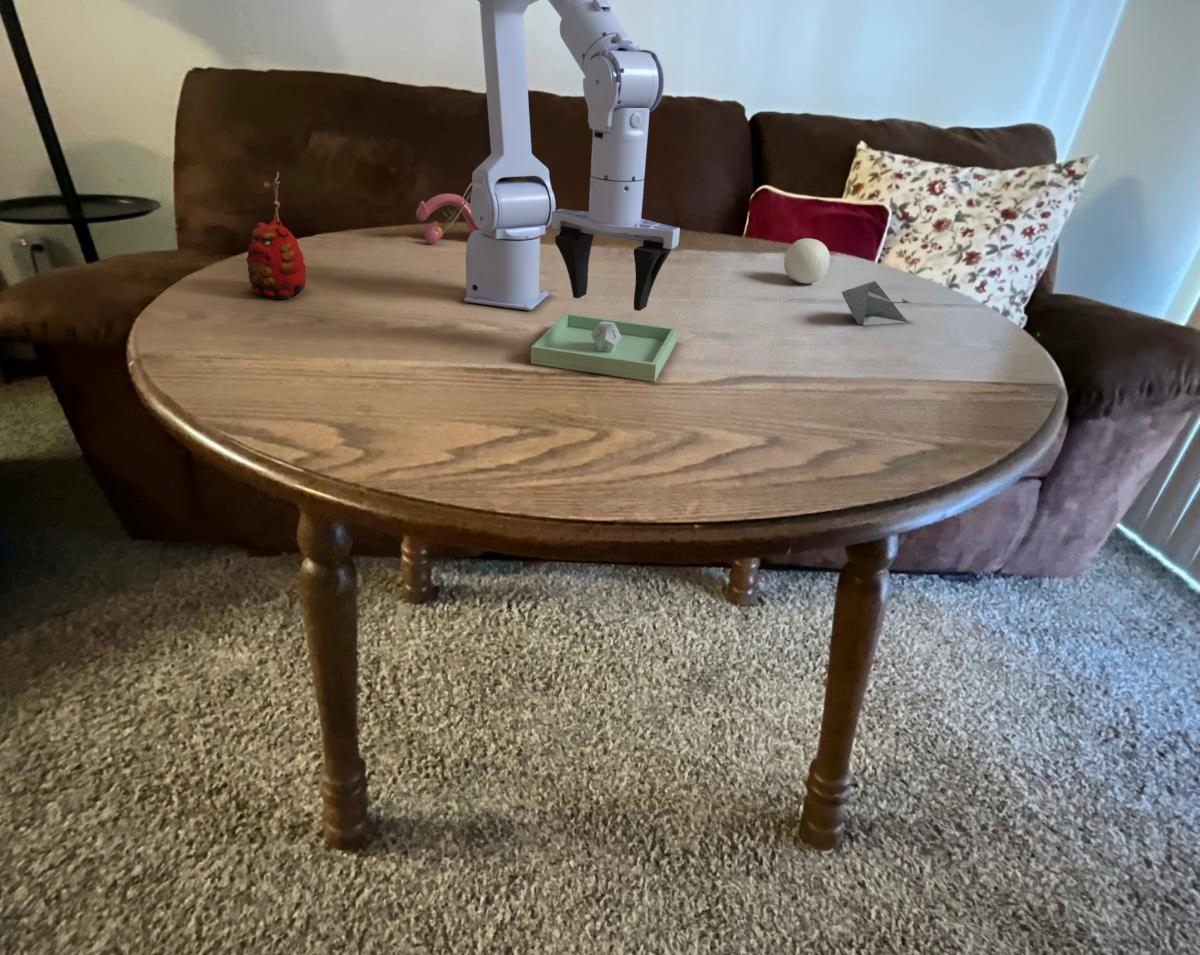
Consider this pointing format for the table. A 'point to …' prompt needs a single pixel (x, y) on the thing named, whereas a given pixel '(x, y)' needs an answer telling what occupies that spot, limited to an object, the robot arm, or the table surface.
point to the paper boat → (872, 305)
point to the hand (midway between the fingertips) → (609, 302)
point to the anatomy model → (434, 229)
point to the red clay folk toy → (275, 257)
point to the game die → (606, 336)
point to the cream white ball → (807, 260)
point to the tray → (630, 359)
